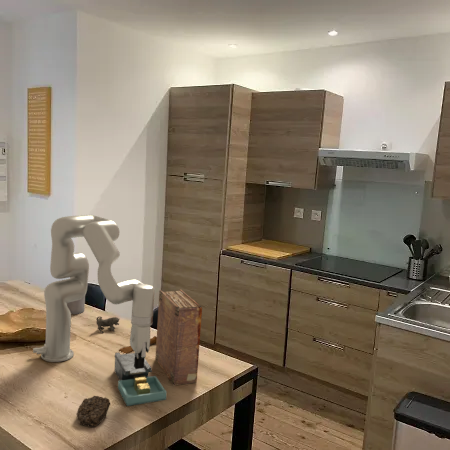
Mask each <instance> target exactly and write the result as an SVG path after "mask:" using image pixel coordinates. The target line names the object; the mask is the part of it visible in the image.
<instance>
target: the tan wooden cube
mask: <svg viewBox="0 0 450 450" xmlns="http://www.w3.org/2000/svg"><path fill="white" fill-rule="evenodd" d="M136 392H137V395H141V394H148V393H150V386H149V384H148V383H141V384H137V389H136Z"/></svg>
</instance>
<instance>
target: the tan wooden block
mask: <svg viewBox="0 0 450 450" xmlns="http://www.w3.org/2000/svg"><path fill="white" fill-rule="evenodd" d="M146 381H147V379H146V377H145V375H144V376H134V386H133V387H134V389H135V391H136V389H137V384H141V383H146Z"/></svg>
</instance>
